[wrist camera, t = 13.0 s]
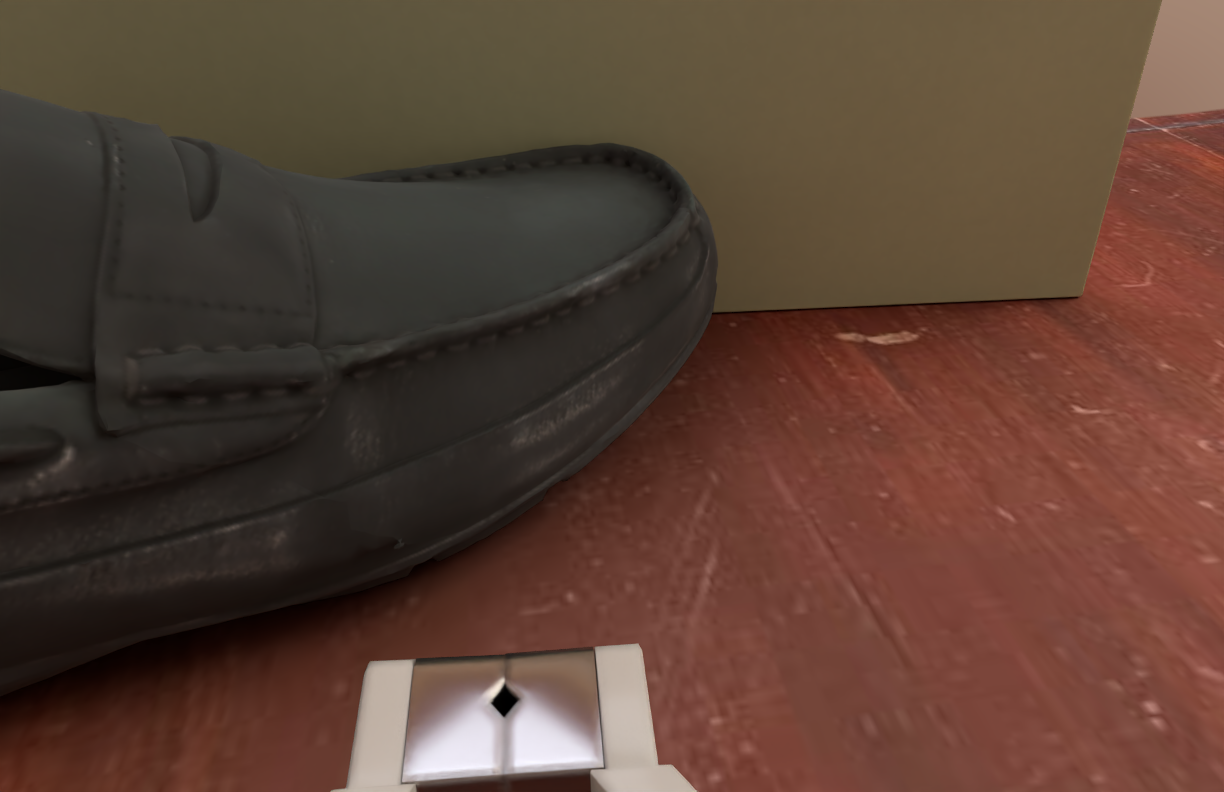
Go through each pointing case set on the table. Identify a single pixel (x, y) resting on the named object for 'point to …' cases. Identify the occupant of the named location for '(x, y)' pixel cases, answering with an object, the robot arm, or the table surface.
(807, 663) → the table surface
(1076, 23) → the wooden plank
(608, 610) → the table surface
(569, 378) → the loafer
